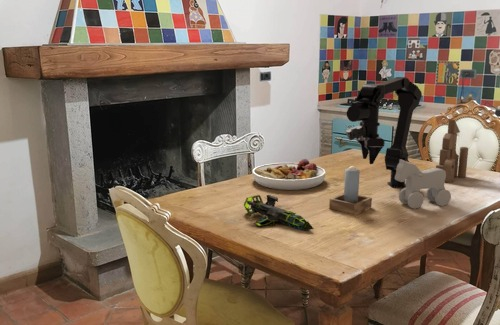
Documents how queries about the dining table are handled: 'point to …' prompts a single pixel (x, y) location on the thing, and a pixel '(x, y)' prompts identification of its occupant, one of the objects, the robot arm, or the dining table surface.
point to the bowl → (289, 175)
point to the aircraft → (275, 213)
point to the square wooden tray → (350, 204)
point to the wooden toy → (452, 154)
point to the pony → (421, 185)
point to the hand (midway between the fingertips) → (367, 161)
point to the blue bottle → (351, 184)
